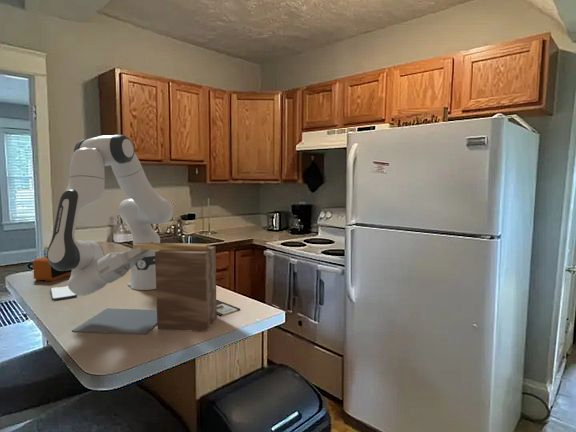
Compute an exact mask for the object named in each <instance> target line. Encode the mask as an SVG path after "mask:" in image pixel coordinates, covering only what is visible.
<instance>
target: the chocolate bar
mask: <svg viewBox="0 0 576 432" xmlns="http://www.w3.org/2000/svg"><path fill="white" fill-rule="evenodd" d="M216 304H217V317H223V316H226V314H227V315H229V313H230V314H232V312H233V313H236V312H239V311H241V307H237V306H234V305H232V304H229V303H226V302H224V301H222V300H218V299H216ZM222 315H223V316H222Z"/></svg>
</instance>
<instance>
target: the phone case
mask: <svg viewBox="0 0 576 432" xmlns="http://www.w3.org/2000/svg"><path fill="white" fill-rule="evenodd" d="M49 293H50V296H51V298H50V299H51V301H52V300H57V301H63V300H69V299H74V298H77V297H78V295H76V294H74V293H73V292H72V291H71V290H70V289H69V287H68V285H63V286H58V287H56V286H55V287H50V290H49ZM62 299H63V300H62Z"/></svg>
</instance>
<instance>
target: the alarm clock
mask: <svg viewBox="0 0 576 432" xmlns="http://www.w3.org/2000/svg"><path fill="white" fill-rule="evenodd" d="M32 268H33V269H32V271H33V280H35V279H36V280H35V281H39V280H45V281H44V282H53V280H54V281H57V280H59V279H62V278H65V277H68V276H71V272H72V270H66V271H58V270H56V269H54V268H53V267H52V266H51V265H50V264H49V262H48V260H47V254H45V255H44V256H43V257H38V258H36V259H34V260H33V261H32Z"/></svg>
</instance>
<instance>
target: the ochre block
mask: <svg viewBox="0 0 576 432" xmlns="http://www.w3.org/2000/svg"><path fill="white" fill-rule="evenodd" d="M209 246H210V244H209V243H179V242H178V243H176V242H175V243H174V242H173V243H171V242H160V243H137V244H134V245H133V244H132V249H136V248H138V247H141V248H142V249H143V250H189V251H206V250H208V249H209Z"/></svg>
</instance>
